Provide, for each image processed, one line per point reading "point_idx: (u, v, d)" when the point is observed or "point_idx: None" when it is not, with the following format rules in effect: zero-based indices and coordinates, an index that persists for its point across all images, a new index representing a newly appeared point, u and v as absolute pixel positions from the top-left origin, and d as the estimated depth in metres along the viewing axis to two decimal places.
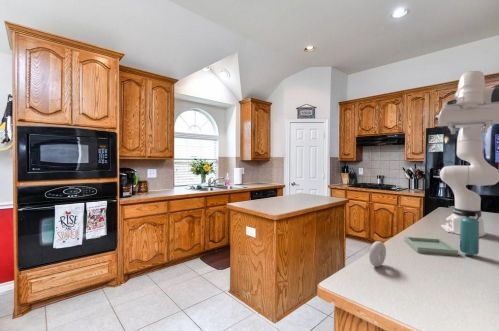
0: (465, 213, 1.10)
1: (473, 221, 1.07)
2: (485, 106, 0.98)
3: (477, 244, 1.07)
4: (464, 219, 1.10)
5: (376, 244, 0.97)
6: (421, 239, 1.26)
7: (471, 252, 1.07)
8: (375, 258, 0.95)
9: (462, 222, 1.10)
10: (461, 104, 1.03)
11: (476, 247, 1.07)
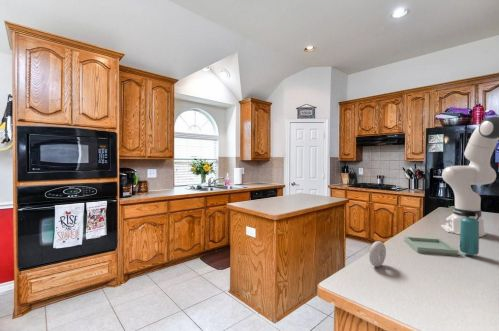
0: (465, 213, 1.10)
1: (473, 221, 1.07)
2: None
3: (477, 244, 1.07)
4: (464, 219, 1.10)
5: (376, 244, 0.97)
6: (421, 239, 1.26)
7: (471, 252, 1.07)
8: (375, 258, 0.95)
9: (462, 222, 1.10)
10: None
11: (476, 247, 1.07)
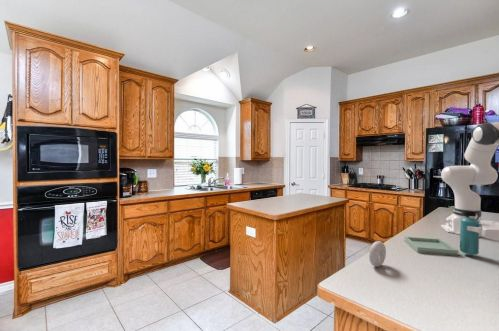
0: (465, 213, 1.10)
1: (473, 221, 1.07)
2: None
3: (477, 244, 1.07)
4: (464, 219, 1.10)
5: (376, 244, 0.97)
6: (421, 239, 1.26)
7: (471, 252, 1.07)
8: (375, 258, 0.95)
9: (462, 222, 1.10)
10: None
11: (476, 247, 1.07)
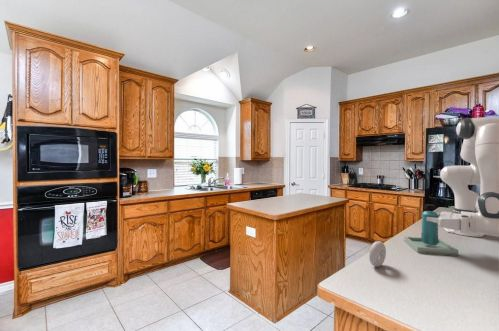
0: (426, 207, 1.18)
1: (432, 214, 1.16)
2: None
3: (436, 235, 1.16)
4: (425, 212, 1.19)
5: (376, 244, 0.97)
6: None
7: (430, 243, 1.16)
8: (375, 258, 0.95)
9: (423, 215, 1.19)
10: None
11: (435, 238, 1.16)
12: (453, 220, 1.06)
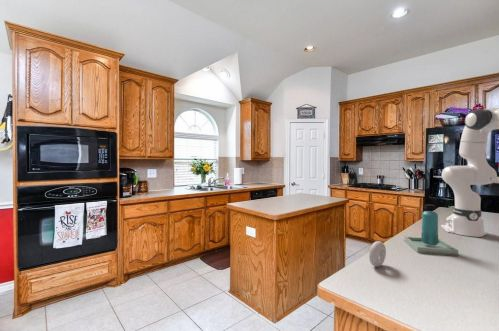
0: (426, 207, 1.18)
1: (432, 214, 1.16)
2: None
3: (436, 235, 1.16)
4: (425, 212, 1.18)
5: (376, 244, 0.97)
6: None
7: (430, 243, 1.16)
8: (375, 258, 0.95)
9: (423, 215, 1.19)
10: None
11: (435, 238, 1.16)
12: None
